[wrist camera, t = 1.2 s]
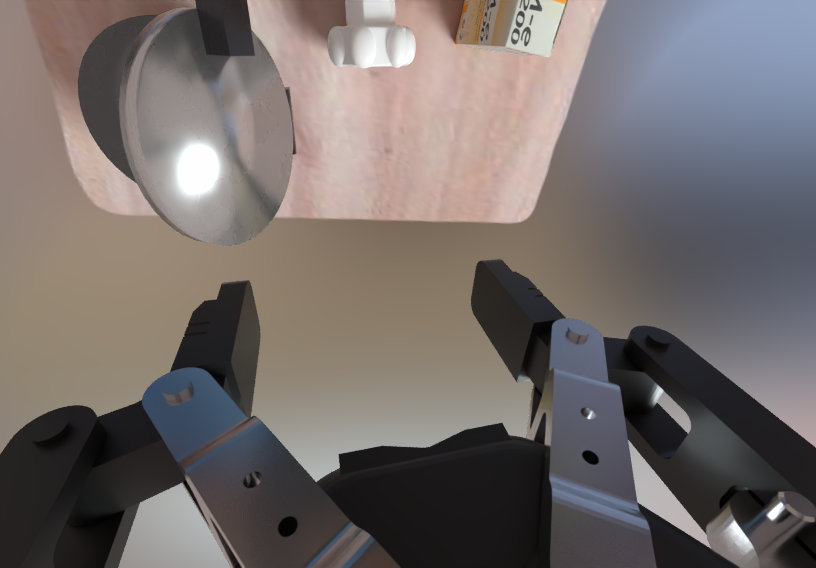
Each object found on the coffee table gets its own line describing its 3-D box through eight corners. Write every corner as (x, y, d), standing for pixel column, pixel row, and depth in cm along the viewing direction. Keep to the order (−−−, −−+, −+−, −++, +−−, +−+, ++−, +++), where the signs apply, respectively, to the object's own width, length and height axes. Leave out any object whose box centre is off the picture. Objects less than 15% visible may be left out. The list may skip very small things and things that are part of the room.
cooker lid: (-3, -217, 13) (59, -224, 12) (257, -86, 26) (294, -86, 25) (169, 280, 24) (206, 288, 23) (293, 202, 36) (319, 206, 36)
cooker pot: (102, 10, 34) (31, 0, 25) (285, 22, 37) (281, 16, 28) (154, 174, 42) (114, 211, 33) (301, 171, 45) (301, 204, 36)
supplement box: (470, -51, 38) (538, -86, 27) (512, -38, 39) (592, -67, 29) (451, 45, 42) (504, 47, 31) (490, 54, 43) (552, 58, 33)
